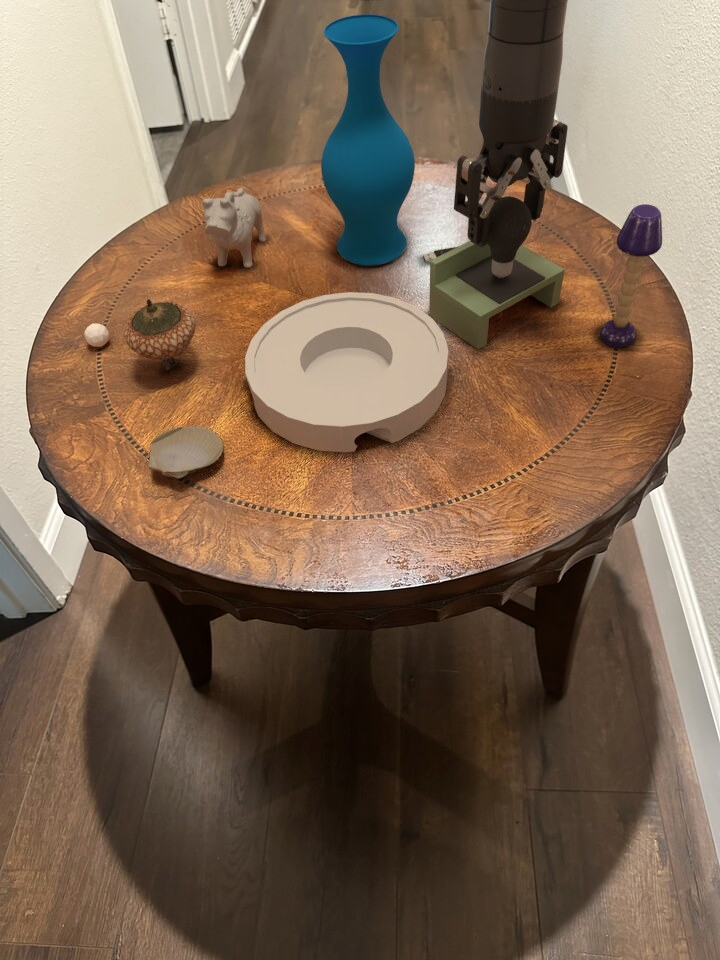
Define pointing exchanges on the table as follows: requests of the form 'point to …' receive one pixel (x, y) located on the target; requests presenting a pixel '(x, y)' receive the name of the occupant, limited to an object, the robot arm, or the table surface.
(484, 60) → the robot arm
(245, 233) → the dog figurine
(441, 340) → the beige round base
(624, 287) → the toy lamp
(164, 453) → the seashell
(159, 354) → the acorn
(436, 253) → the usb flash drive
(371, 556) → the table surface
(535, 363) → the table surface
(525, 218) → the light bulb
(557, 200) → the table surface
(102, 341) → the polyhedron
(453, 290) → the bench
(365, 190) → the vase
